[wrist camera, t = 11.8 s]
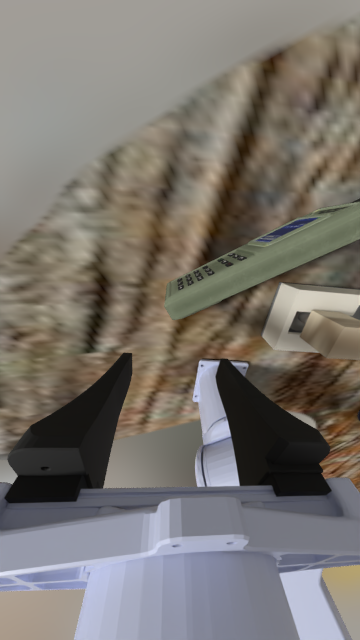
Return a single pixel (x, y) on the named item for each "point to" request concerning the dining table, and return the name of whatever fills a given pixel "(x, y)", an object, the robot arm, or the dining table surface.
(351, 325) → the keyhole peg
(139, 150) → the dining table surface
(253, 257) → the handheld radio
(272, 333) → the white hollow rectangular frame
